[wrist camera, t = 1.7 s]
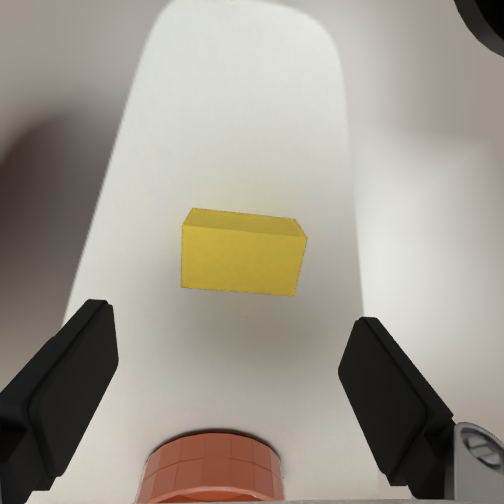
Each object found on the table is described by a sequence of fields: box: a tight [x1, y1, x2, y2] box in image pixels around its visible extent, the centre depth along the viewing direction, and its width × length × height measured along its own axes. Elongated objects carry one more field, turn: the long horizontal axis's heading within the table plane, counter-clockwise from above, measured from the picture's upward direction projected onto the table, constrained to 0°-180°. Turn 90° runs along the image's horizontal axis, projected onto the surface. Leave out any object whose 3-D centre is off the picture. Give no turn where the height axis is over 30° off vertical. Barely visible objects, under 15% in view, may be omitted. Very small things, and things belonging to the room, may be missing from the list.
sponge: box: [181, 208, 307, 296], centre depth 17 cm, size 4×7×4 cm, turn 83°
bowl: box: [133, 433, 286, 504], centre depth 28 cm, size 16×16×5 cm
